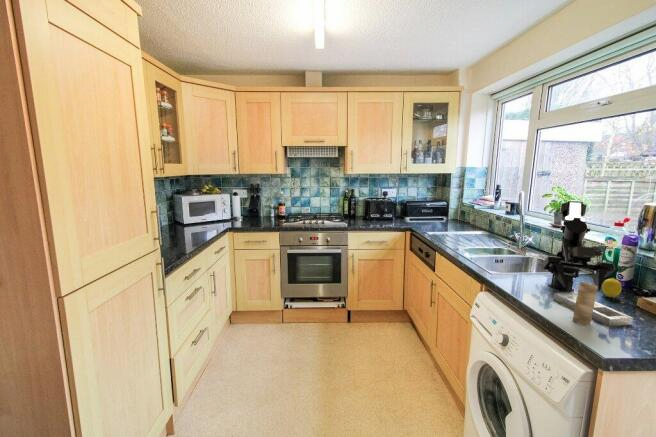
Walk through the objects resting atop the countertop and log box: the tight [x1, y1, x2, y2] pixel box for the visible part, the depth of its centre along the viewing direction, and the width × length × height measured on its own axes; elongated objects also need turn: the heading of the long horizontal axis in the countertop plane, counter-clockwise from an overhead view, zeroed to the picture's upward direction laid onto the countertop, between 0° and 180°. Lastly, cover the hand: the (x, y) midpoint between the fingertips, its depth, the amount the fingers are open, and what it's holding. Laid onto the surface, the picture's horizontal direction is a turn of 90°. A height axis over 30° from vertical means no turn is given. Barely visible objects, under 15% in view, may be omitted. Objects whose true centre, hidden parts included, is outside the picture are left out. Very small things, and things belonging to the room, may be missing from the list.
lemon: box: [601, 277, 623, 298], centre depth 116 cm, size 6×6×8 cm
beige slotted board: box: [552, 291, 634, 327], centre depth 105 cm, size 20×9×2 cm, turn 10°
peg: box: [572, 281, 598, 327], centre depth 96 cm, size 4×4×13 cm
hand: (581, 288), depth 98 cm, fingers open, 9 cm apart
